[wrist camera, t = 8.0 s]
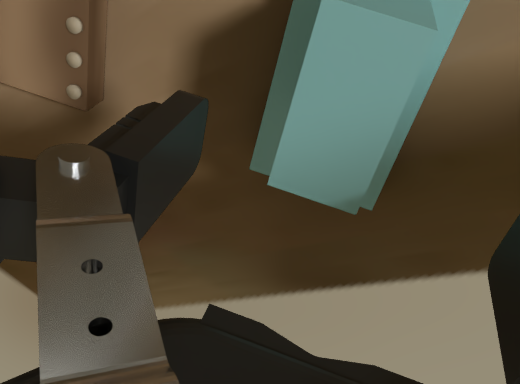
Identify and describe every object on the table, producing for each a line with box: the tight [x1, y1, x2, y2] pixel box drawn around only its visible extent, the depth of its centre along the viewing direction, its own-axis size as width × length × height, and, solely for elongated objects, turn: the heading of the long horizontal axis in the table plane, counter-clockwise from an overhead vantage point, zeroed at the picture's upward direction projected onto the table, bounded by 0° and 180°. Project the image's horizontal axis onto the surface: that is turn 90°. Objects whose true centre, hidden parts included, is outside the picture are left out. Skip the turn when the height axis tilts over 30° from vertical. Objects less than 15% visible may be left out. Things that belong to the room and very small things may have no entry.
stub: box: [249, 0, 470, 215], centre depth 17 cm, size 6×13×8 cm, turn 167°
